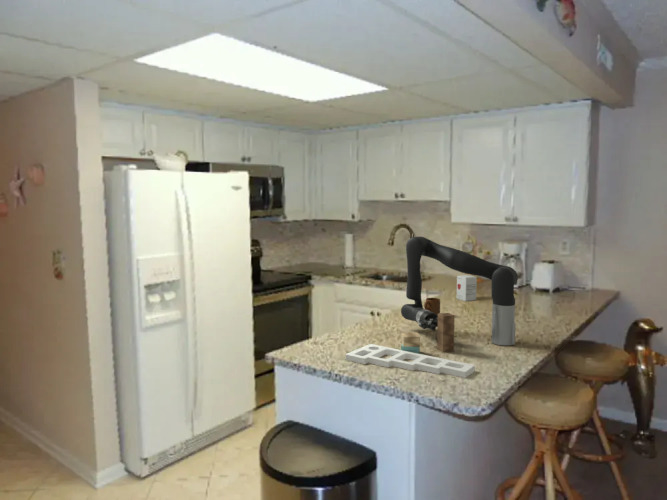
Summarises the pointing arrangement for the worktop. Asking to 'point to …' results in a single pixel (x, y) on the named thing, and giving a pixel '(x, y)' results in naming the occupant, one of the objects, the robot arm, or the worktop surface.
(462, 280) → the supplement box
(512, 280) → the robot arm
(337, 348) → the worktop surface
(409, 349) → the tower base
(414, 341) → the tower mid
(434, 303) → the mug
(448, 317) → the walnut column
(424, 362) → the holder
